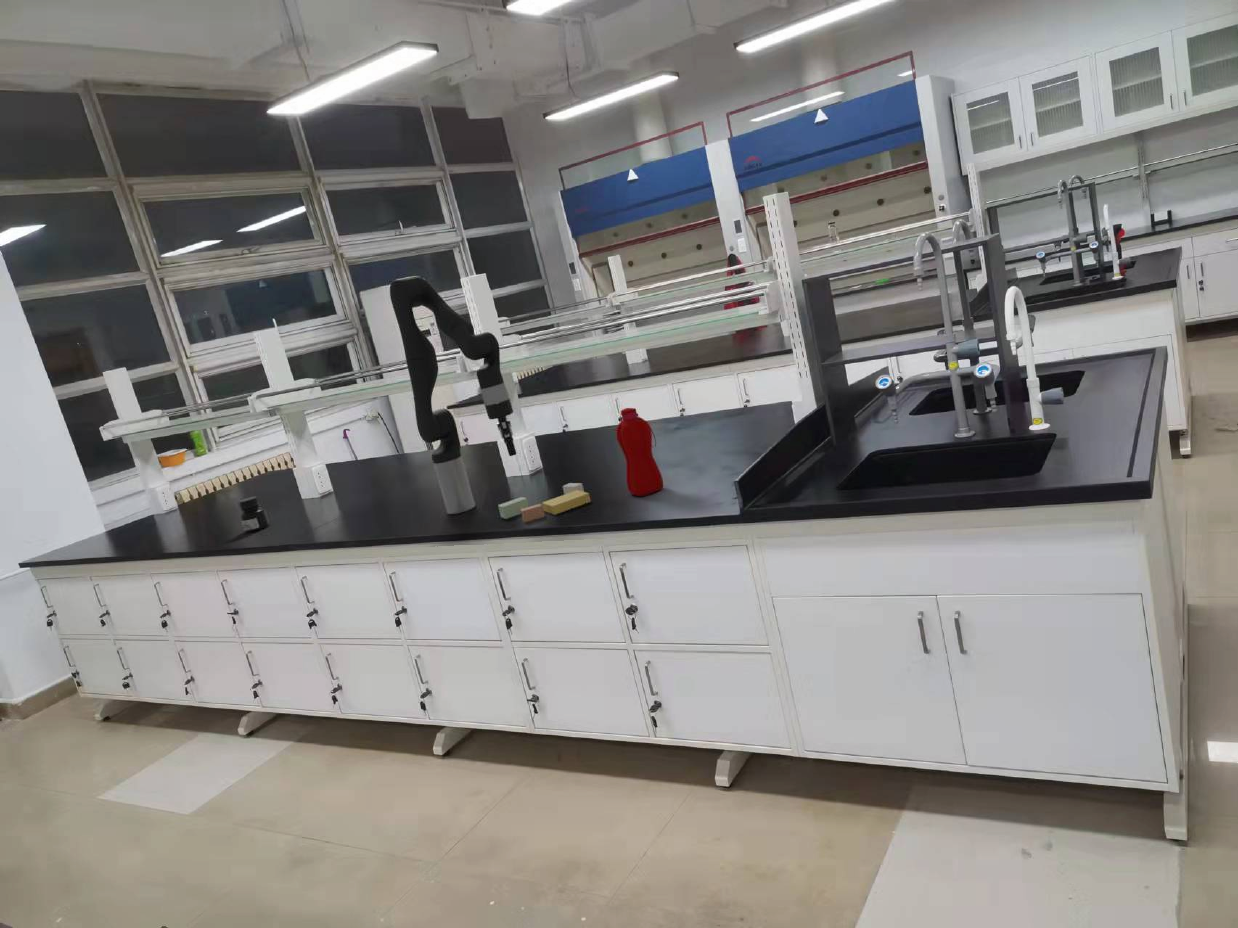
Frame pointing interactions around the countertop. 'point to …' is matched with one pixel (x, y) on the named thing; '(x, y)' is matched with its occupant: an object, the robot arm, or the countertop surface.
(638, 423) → the water bottle
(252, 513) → the ink bottle
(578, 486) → the cream brick
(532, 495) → the countertop surface
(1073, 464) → the countertop surface
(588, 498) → the mustard base brick
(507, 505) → the sage brick
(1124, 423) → the countertop surface
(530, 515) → the rust brick
